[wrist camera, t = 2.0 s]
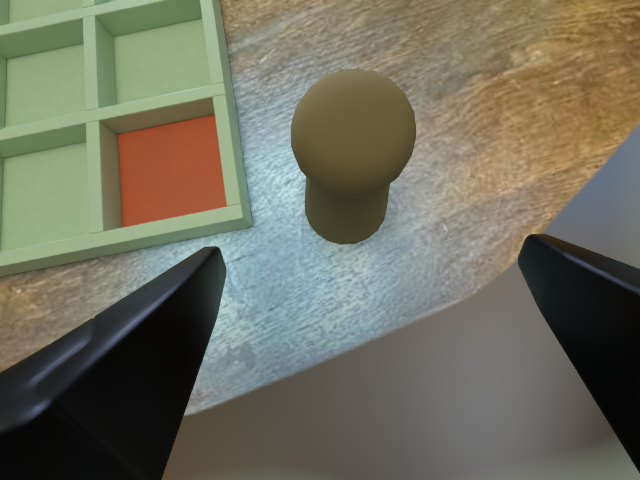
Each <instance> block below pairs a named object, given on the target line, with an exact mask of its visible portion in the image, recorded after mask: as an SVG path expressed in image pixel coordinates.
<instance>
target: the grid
mask: <svg viewBox="0 0 640 480" xmlns="http://www.w3.org/2000/svg"><path fill="white" fill-rule="evenodd" d="M252 226H253V223H252V216H251V209H250V202H249V196H248V189H247V182H246V175H245V168H244V162H243V155H242V148H241V141H240V134H239V128H238V121H237V114H236V107H235V101H234V94H233V87H232V80H231V73H230V67H229V60H228V53H227V46H226V39H225V33H224V26H223V19H222V12H221V5H220V0H0V277H1V276H6V275H11V274H16V273H22V272H27V271H32V270H37V269H42V268H47V267H52V266H57V265H62V264H67V263H72V262H77V261H82V260H87V259H92V258H97V257H102V256H107V255H112V254H117V253H122V252H127V251H132V250H137V249H142V248H147V247H152V246H157V245H162V244H167V243H172V242H177V241H182V240H187V239H192V238H197V237H202V236H207V235H213V234H218V233H223V232H228V231H233V230H238V229H243V228H248V227H252Z"/></svg>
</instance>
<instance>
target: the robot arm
mask: <svg viewBox="0 0 640 480" xmlns="http://www.w3.org/2000/svg"><path fill="white" fill-rule="evenodd" d="M518 265H519V268H520V270H521V272H522V274H523V276H524V278H525V281H526V283H527V285H528V287H529V289H530V291H531V293H532V295H533V297H534V300H535V302H536V304H537V306H538V308H539V309H540V311H541V313H542V315H543V317H544V318H545V320H546V322H547V323H548V325H549V326H550V328H551V330H552V331H553V333H554V335H555V336H556V338H557V339H558V341H559V343H560V344H561V346H562V348H563V349H564V351H565V352H566V354H567V356H568V357H569V359H570V361H571V362H572V364H573V365H574V367H575V369H576V370H577V372H578V374H579V375H580V377H581V379H582V380H583V382H584V383H585V385H586V387H587V388H588V390H589V392H590V393H591V395H592V396H593V398H594V400H595V401H596V403H597V405H598V406H599V408H600V410H601V411H602V413H603V414H604V416H605V418H606V419H607V421H608V423H609V424H610V426H611V427H612V429H613V431H614V432H615V434H616V436H617V437H618V439H619V440H620V442H621V444H622V445H623V447H624V448H625V450H626V452H627V453H628V455H629V457H630V458H631V460H632V462H633V463H634V465H635V467H636V468H637V470H638V471H639V473H640V269H638V268H635V267H633V266H630V265H627V264H625V263H622V262H619V261H616V260H614V259H611V258H609V257H606V256H603V255H601V254H598V253H595V252H592V251H590V250H587V249H585V248H582V247H579V246H577V245H574V244H571V243H568V242H566V241H563V240H560V239H558V238H555V237H552V236H550V235H547V234H531V235H529V236H527V237H526V239H525V241H524V244H523V246H522V249H521V251H520V254H519V256H518ZM225 278H226V266H225V263H224V260H223V256H222V253H221V250H220V248H219V247H217V246H212V247H204V248H202V249H200V250H199V251H197V252H196V253H194V254H192V255H191V256H189V257H188V258H186V259H185V260H183V261H181V262H180V263H178V264H177V265H175V266H173V267H172V268H170V269H169V270H167V271H166V272H164V273H162V274H161V275H159V276H158V277H156V278H155V279H153V280H151V281H150V282H148V283H147V284H145V285H143V286H142V287H140V288H139V289H137V290H136V291H134V292H132V293H131V294H129V295H128V296H126V297H125V298H123V299H121V300H120V301H118V302H117V303H115V304H113V305H112V306H110V307H109V308H107V309H106V310H104V311H102V312H101V313H99V314H98V315H96V316H95V317H94V319H93V318H92V319H90V320H88V321H87V322H85V323H83V324H82V325H80V326H79V327H77V328H76V329H74V330H72V331H71V332H69V333H67V334H66V335H64V336H62V337H61V338H59V339H58V340H56V341H54V342H53V343H51V344H49V345H48V346H46V347H44V348H42V349H41V350H39V351H37V352H36V353H34V354H32V355H30V356H29V357H27V358H25V359H23V360H22V361H20V362H18V363H16V364H15V365H13V366H11V367H9V368H8V369H6V370H4V371H2V372H1V373H0V480H161V479H162V476H163V473H164V470H165V467H166V465H167V462H168V459H169V456H170V453H171V450H172V447H173V444H174V441H175V439H176V436H177V433H178V430H179V427H180V424H181V421H182V418H183V415H184V413H185V410H186V407H187V404H188V401H189V398H190V395H191V392H192V389H193V386H194V383H195V381H196V378H197V375H198V372H199V369H200V366H201V363H202V360H203V357H204V354H205V351H206V349H207V346H208V343H209V340H210V337H211V334H212V331H213V328H214V325H215V322H216V319H217V315H218V311H219V306H220V302H221V297H222V292H223V288H224V283H225Z"/></svg>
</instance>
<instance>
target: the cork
mask: <svg viewBox="0 0 640 480" xmlns="http://www.w3.org/2000/svg"><path fill="white" fill-rule="evenodd" d="M415 139H416V124H415V116H414V111H413V109H412V107H411V105H410V103H409V101H408V99H407V97H406V95H405V94H404V92H403V91H402V90H401V89H400V88H399V87H398V86H397V85H396V84H395V83H394V82H393V81H392V80H391V79H389V78H387V77H385V76H383V75H381V74H379V73H377V72H375V71H369V70H364V69H359V68H358V69H346V70H340V71H337V72H334V73H332V74H329V75H326V76H324V77H323V78H322V79H320V80H319V81H318V82H316V83H315V84H314V85H312V86H311V87H310V88H309V89H308V90H307V92H306V93H305V95H304V96H303V97H302V99H301V100H300V101H299V103H298V104H297V107H296V110H295V113H294V116H293V120H292V124H291V147H292V150H293V153H294V155H295V158H296V160H297V163H298V165H299V168H300V170H301V171H302V172H303V173H304V174H305V176H306V191H305V213H306V216H307V219H308V221H309V224H310V225H311V227H312V228H313V229H314V230H315V231H316V233H317V234H318V235H320V236H321V237H323V238H325V239H326V240H328V241H330V242H334V243H338V244H355V243H358V242H360V241H363V240H365V239H367V238H369V237H370V236H371V235H372V234H374V233H375V232H376V231H377V230H378V228H379V227H380V225H381V224H382V222H383V220H384V217H385V213H386V208H387V201H388V193H389V186H390V183H391V182H392V181H394V180H395V179H396V178H397V177H399V175H400V173H401V172H402V170H403V169H404V167H405V166H406V164H407V162H408V161H409V159H410V157H411V155H412V152H413V148H414V143H415Z"/></svg>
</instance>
